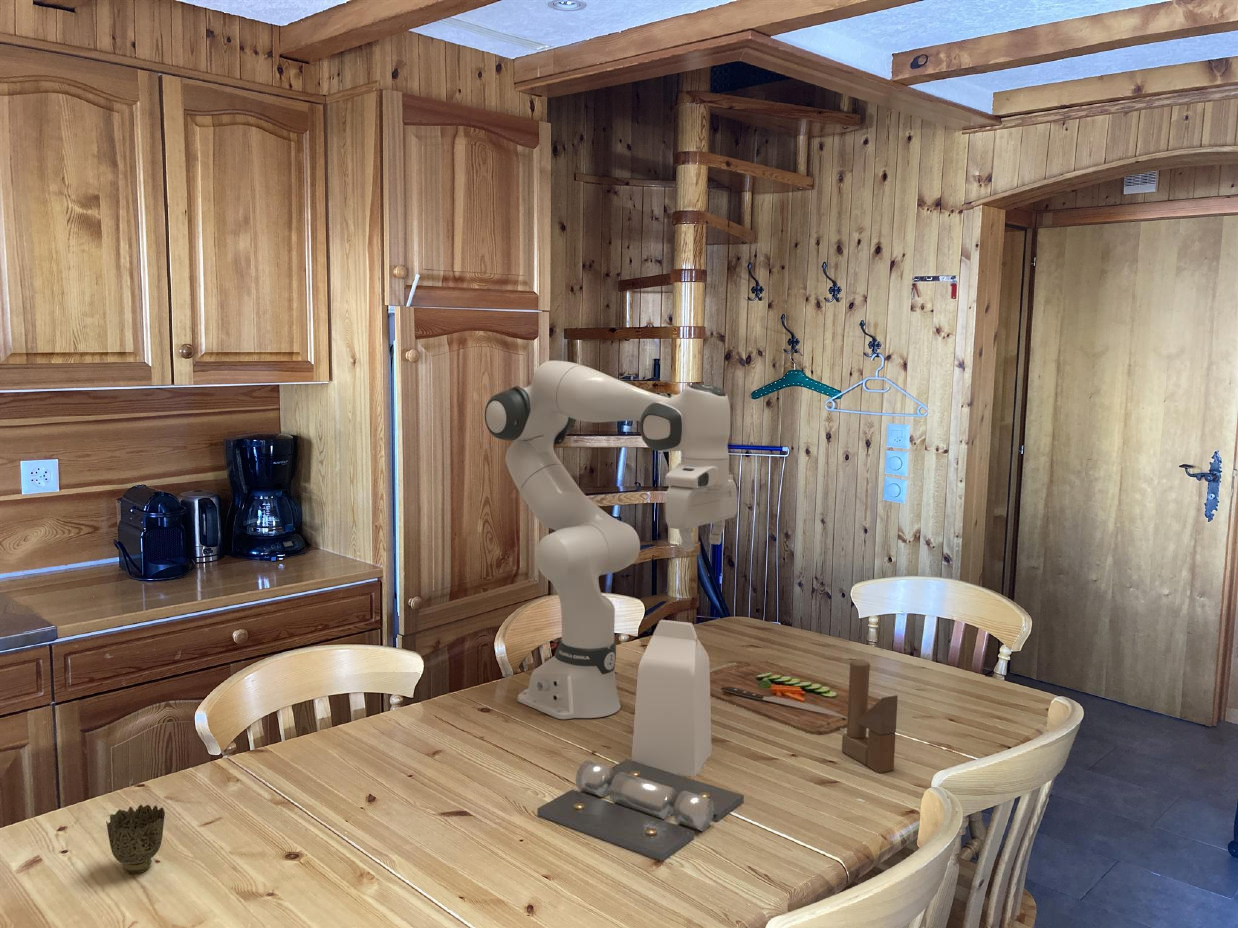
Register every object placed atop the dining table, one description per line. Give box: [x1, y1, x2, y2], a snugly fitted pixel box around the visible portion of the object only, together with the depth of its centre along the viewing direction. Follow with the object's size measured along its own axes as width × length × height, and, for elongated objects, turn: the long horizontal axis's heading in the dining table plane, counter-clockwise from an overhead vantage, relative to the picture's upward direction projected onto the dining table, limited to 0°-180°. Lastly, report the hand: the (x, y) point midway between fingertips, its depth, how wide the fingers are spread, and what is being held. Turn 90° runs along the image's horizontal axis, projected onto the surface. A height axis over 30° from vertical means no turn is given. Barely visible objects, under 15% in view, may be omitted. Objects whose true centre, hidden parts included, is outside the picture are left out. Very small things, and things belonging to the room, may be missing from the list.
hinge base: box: [536, 759, 745, 863], centre depth 163 cm, size 24×25×5 cm
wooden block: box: [841, 659, 899, 774], centre depth 183 cm, size 4×11×18 cm, turn 26°
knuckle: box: [609, 772, 677, 821], centre depth 163 cm, size 10×5×5 cm, turn 54°
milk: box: [630, 619, 712, 778], centre depth 182 cm, size 12×12×26 cm
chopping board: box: [710, 660, 881, 736], centre depth 219 cm, size 45×27×3 cm, turn 40°
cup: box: [105, 804, 166, 874], centre depth 140 cm, size 8×7×8 cm
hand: (702, 547), depth 184 cm, fingers open, 8 cm apart
